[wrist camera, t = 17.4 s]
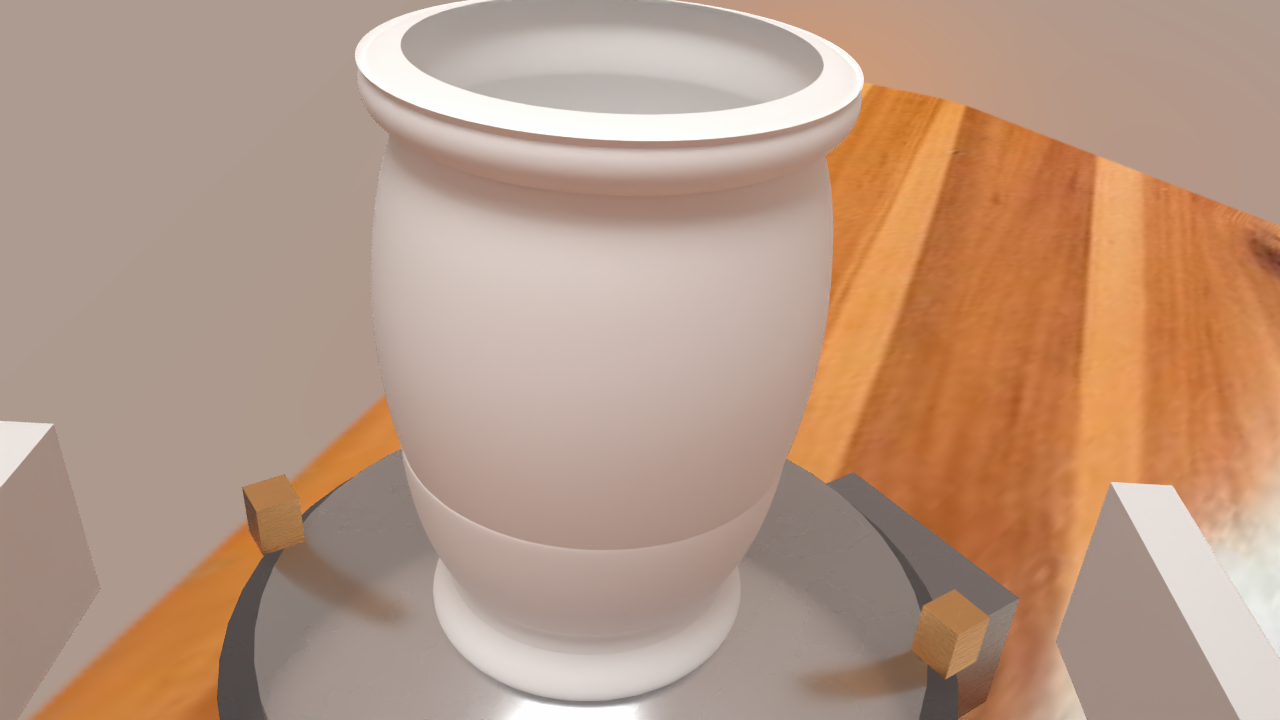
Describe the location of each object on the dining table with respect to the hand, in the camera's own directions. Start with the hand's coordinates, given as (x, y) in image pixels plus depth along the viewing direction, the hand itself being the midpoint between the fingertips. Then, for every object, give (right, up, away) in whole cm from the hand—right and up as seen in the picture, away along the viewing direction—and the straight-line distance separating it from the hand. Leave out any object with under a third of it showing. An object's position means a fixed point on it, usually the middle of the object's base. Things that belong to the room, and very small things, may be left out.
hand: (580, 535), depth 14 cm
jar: (-1, -4, +16) cm, 17 cm away
